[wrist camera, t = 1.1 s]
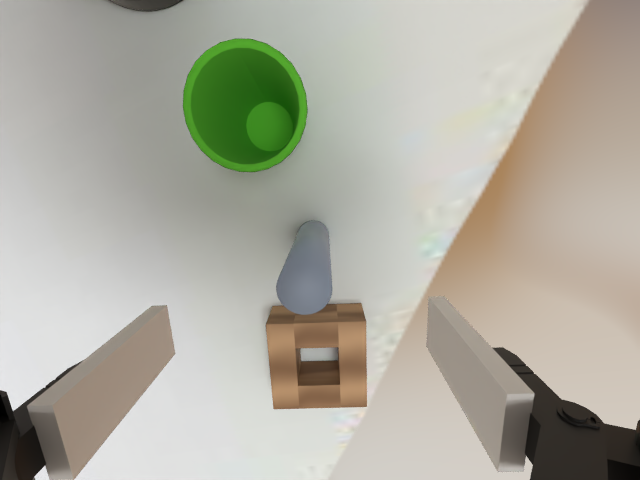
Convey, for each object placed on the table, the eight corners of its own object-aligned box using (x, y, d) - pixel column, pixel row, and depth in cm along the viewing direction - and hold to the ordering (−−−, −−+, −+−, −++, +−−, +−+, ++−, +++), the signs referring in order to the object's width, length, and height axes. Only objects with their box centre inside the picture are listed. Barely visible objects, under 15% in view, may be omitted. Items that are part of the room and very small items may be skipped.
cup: (236, 175, 34) (194, 177, 23) (222, 86, 32) (170, 44, 21) (316, 167, 33) (312, 166, 23) (308, 77, 31) (299, 29, 21)
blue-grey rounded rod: (296, 221, 35) (274, 263, 19) (328, 219, 35) (331, 261, 19) (298, 251, 36) (278, 315, 20) (329, 250, 35) (333, 313, 20)
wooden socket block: (272, 306, 37) (265, 324, 33) (361, 303, 37) (365, 321, 33) (279, 382, 40) (273, 409, 35) (362, 380, 39) (366, 406, 35)
